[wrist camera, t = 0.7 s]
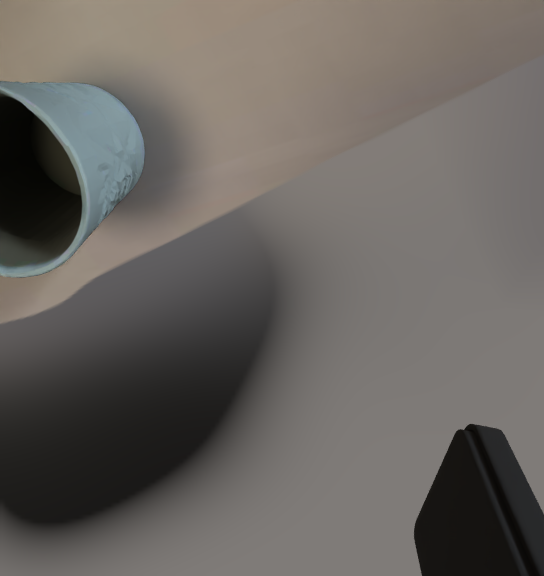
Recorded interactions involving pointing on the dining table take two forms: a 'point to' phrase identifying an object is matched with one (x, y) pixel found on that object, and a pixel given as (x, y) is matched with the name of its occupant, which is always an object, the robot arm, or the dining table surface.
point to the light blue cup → (60, 169)
